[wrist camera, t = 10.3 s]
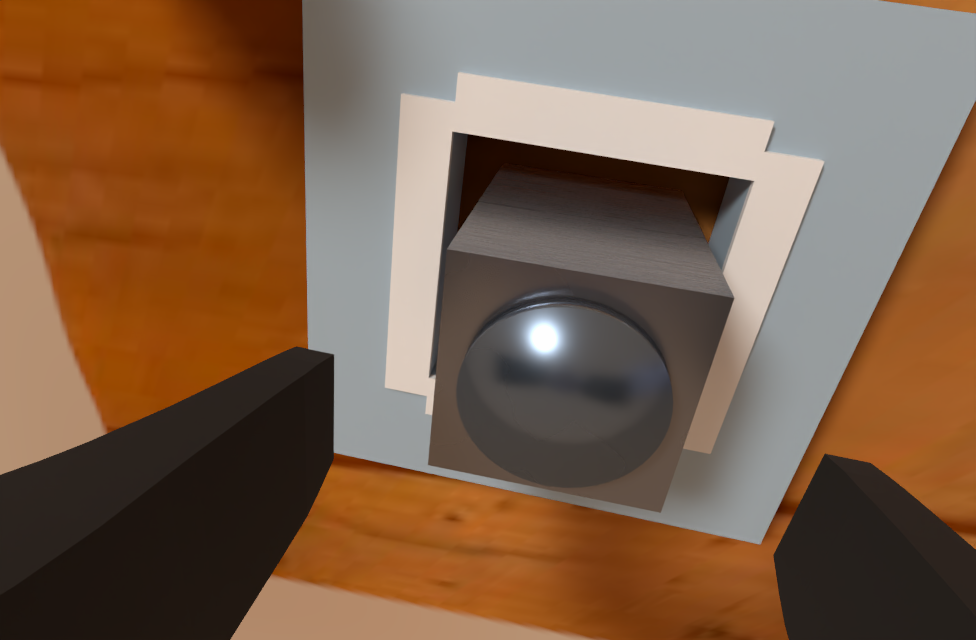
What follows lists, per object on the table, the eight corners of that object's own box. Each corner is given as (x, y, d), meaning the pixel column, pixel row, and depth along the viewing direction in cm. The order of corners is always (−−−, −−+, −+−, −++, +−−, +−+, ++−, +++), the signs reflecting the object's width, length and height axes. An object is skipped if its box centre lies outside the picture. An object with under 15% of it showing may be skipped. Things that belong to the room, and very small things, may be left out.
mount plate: (961, 19, 12) (1022, 19, 11) (746, 499, 19) (761, 549, 17) (335, -66, 13) (296, -80, 12) (333, 413, 20) (307, 451, 18)
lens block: (681, 190, 15) (740, 309, 9) (639, 345, 17) (662, 529, 11) (504, 162, 15) (441, 258, 9) (484, 317, 17) (422, 478, 11)
